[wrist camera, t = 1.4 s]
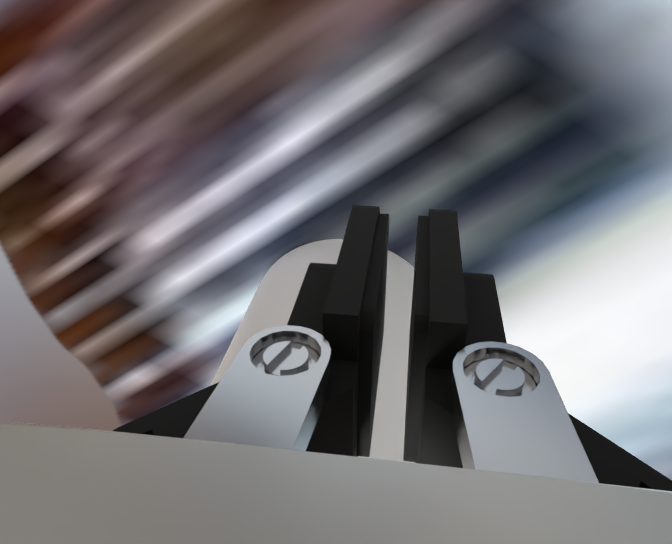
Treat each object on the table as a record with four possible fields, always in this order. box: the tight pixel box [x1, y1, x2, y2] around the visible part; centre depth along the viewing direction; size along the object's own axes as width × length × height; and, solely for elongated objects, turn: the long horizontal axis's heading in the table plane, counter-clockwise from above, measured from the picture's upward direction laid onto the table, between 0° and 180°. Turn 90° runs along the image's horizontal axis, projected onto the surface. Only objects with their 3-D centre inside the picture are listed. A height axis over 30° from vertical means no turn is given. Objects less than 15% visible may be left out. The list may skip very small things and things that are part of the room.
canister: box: [210, 239, 415, 463], centre depth 33 cm, size 14×14×20 cm
